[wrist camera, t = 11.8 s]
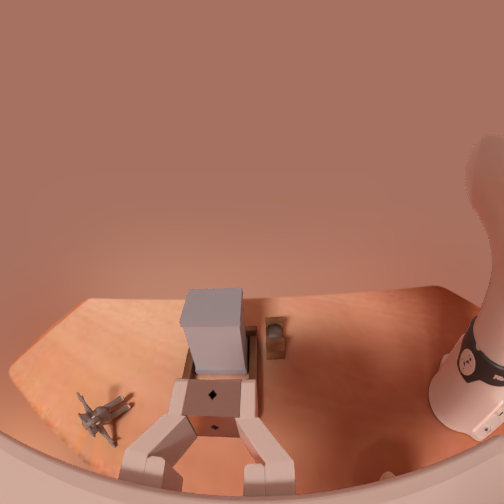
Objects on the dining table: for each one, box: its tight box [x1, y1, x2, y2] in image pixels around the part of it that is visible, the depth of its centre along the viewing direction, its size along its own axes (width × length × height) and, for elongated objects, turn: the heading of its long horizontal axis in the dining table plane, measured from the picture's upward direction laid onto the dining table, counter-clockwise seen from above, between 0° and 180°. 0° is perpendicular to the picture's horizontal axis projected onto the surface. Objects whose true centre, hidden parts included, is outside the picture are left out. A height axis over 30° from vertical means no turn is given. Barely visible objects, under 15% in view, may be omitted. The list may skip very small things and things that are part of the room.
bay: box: [182, 317, 285, 397], centre depth 43 cm, size 16×19×4 cm
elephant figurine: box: [76, 392, 131, 448], centre depth 34 cm, size 10×6×9 cm
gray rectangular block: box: [179, 288, 248, 374], centre depth 45 cm, size 8×7×12 cm
